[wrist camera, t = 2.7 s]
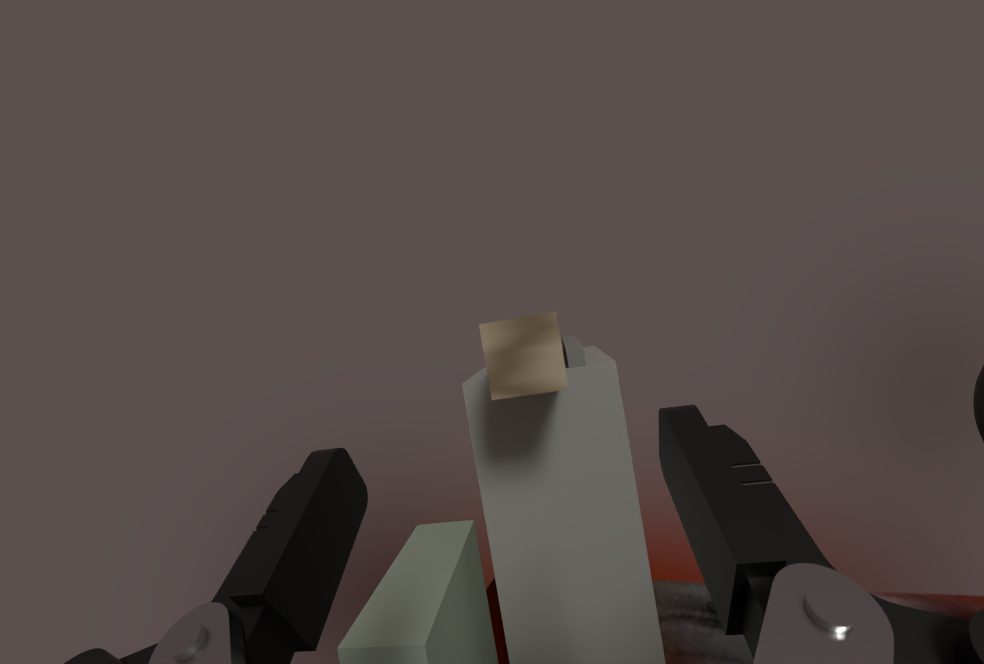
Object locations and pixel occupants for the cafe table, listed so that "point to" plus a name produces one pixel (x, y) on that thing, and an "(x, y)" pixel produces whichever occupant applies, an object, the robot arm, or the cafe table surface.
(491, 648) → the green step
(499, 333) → the birch bar
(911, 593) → the cafe table surface
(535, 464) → the grey stand
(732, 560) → the robot arm
